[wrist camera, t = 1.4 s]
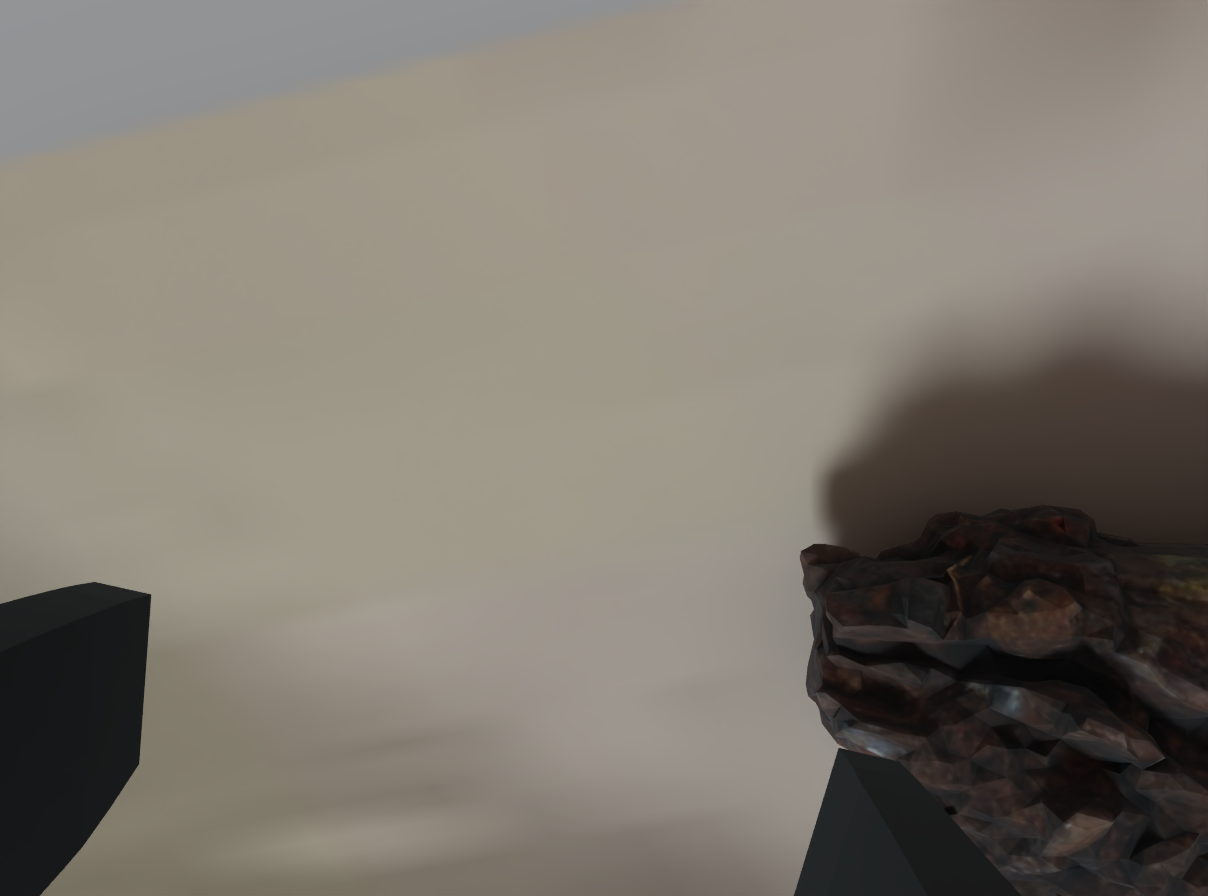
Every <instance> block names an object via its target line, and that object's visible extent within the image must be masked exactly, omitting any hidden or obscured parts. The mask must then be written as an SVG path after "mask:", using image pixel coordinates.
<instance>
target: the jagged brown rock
mask: <svg viewBox="0 0 1208 896" xmlns="http://www.w3.org/2000/svg"><path fill="white" fill-rule="evenodd" d="M800 560H801V564H802V568H803V572H804V579H803V585H804V588H805V591H806V594H807V596H808V597H809V598H810V599H811V600H812V604H813V607H814V610H813V612H812V613H811V615H810V617H811V623H812V630H813V636H814V642H813V646H812V650H811V655H810V659H809V663H808V668H807V679H806V687H807V692H808V696H809V697H810V698H811V699H812V700H813V701H815V702H816V704H817V706H818V708H819V710H820V716H821V721H822V724H823V725H824V727H825V728H826V729H827V731H828V732H829V733H830V734H831V736H832V737H833V738H834V740H835V741H836V742H837V744H839V745H841V746H843V747H844V748H846V749H848V750H851V751H855V752H859V753H864V754H868V755H873V756H877V757H882V758H886V759H891V760H895V761H899V762H900V763H901V764H902V765H903V766H904V767H905V768H906V769H907V770H908V771H909V772H910V773H911V774H912V775H913V776H914V777H915V778H916V779H917V780H918V781H919V782H920V783H921V784H922V785H923V786H924V788H925V789H926V790H927V791H928V792H929V793H930V794H931V795H932V796H933V798H934V799H935V800H936V801H937V802H938V803H939V804H940V805H941V806H942V808H943V809H944V810H945V811H946V812H947V813H948V814H949V815H950V817H951V818H952V819H953V820H954V821H955V822H956V823H957V825H958V826H959V827H960V828H961V829H962V830H963V831H964V832H965V834H966V835H967V836H968V837H969V838H970V839H971V840H972V841H973V843H974V844H975V845H976V846H977V847H978V848H979V849H980V850H981V852H982V853H983V854H984V855H985V856H986V857H987V858H988V859H989V860H990V862H991V863H992V864H993V865H994V866H995V867H996V868H997V869H998V870H999V872H1000V873H1001V874H1002V875H1003V876H1004V877H1005V878H1006V879H1007V880H1008V881H1009V882H1010V884H1011V885H1012V886H1013V887H1014V888H1015V889H1016V890H1017V891H1018V892H1019V893H1020V894H1021V895H1022V896H1208V544H1160V543H1136V542H1134V541H1133V540H1131V539H1126V538H1121V537H1117V536H1112V535H1107V534H1102V533H1097V531H1096V527H1095V523H1094V519H1092V518H1091V517H1089V516H1088V515H1086V514H1085V513H1083V512H1082V511H1081V510H1077V509H1069V508H1061V507H1052V506H1044V505H1042V506H1036V507H1031V508H1025V509H1019V510H1014V511H1010V510H1006V509H999V510H997V511H994V512H992V513H989V514H987V515H985V516H982V517H980V516H976V515H971V514H966V513H961V512H950V513H943V514H937V515H935V516H934V517H933V518H931V519H930V520H929V522H928V524H927V525H926V527H925V529H924V531H923V533H922V535H921V537H920V538H919V539H918V540H917V541H916V542H913V543H910V544H906V545H902V546H899V547H896V548H893V549H889V550H886V551H883V552H881V553H880V555H879V556H878V557H877V559H873V558H869V557H865V556H863V557H860V555H859V554H858V553H855V552H853V551H851V550H849V549H845V548H842V547H839V546H833V545H827V544H813V545H811V546H810V547H808V548H806V549H804V550H802V551H801V555H800Z"/></svg>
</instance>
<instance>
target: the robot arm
mask: <svg viewBox="0 0 1208 896" xmlns="http://www.w3.org/2000/svg"><path fill="white" fill-rule="evenodd" d="M150 604H151V594H146V593H142V592H137V591H133V590H128V589H124V588H119V587H115V586H110V585H106V584H101V583H97V582H92V583H86V584H80V585H74V586H69V587H64V588H60V589H56V590H52V591H48V592H43V593H40V594H36V595H32V596H28V597H24V598H21V599H17V600H13V601H10V602H6V603H2V604H0V896H40V895H41V894H42V892H43V891H44V890H45V889H46V888H47V887H48V886H49V885H50V883H51V882H52V881H53V880H54V879H55V878H56V877H57V876H58V874H59V873H60V872H61V871H62V870H63V869H64V868H65V866H66V865H67V864H68V863H69V862H70V861H71V860H72V858H73V857H74V856H75V855H76V854H77V853H78V851H79V850H80V849H81V848H82V847H83V845H84V844H85V843H86V841H87V840H88V838H89V837H90V836H91V834H92V833H93V831H94V830H95V828H96V827H97V826H98V824H99V823H100V821H101V820H102V819H103V817H104V816H105V814H106V813H107V812H108V810H109V809H110V807H111V806H112V804H113V803H114V801H115V800H116V798H117V797H118V795H119V794H120V792H121V791H122V789H123V788H124V786H125V785H126V783H127V782H128V780H129V779H130V777H131V775H132V774H133V772H134V771H135V769H136V768H137V766H138V765H139V757H140V743H141V729H142V715H143V701H144V687H145V673H146V660H147V646H148V632H149V618H150ZM794 896H1022V895H1021V894H1020V893H1019V892H1018V891H1017V890H1016V889H1015V888H1014V887H1013V886H1012V885H1011V884H1010V882H1009V881H1008V880H1007V879H1006V878H1005V877H1004V876H1003V875H1002V874H1001V873H1000V872H999V870H998V869H997V868H996V867H995V866H994V865H993V864H992V863H991V862H990V860H989V859H988V858H987V857H986V856H985V855H984V854H983V853H982V852H981V850H980V849H979V848H978V847H977V846H976V845H975V844H974V843H973V841H972V840H971V839H970V838H969V837H968V836H967V835H966V834H965V832H964V831H963V830H962V829H961V828H960V827H959V826H958V825H957V823H956V822H955V821H954V820H953V819H952V818H951V817H950V815H949V814H948V813H947V812H946V811H945V810H944V809H943V808H942V806H941V805H940V804H939V803H938V802H937V801H936V800H935V799H934V798H933V796H932V795H931V794H930V793H929V792H928V791H927V790H926V789H925V788H924V786H923V785H922V784H921V783H920V782H919V781H918V780H917V779H916V778H915V777H914V776H913V775H912V774H911V773H910V772H909V771H908V770H907V769H906V768H905V767H904V766H903V765H902V764H901V763H900V762H899V761H895V760H891V759H886V758H882V757H877V756H873V755H868V754H864V753H859V752H855V751H851V750H846V749H842V748H839V749H838V752H837V755H836V759H835V762H834V765H833V769H832V772H831V775H830V779H829V782H828V785H827V788H826V792H825V795H824V798H823V802H822V805H821V808H820V812H819V815H818V818H817V821H816V825H815V828H814V831H813V835H812V838H811V841H810V845H809V848H808V851H807V855H806V858H805V861H804V864H803V868H802V871H801V874H800V878H799V881H798V884H797V888H796V891H795V894H794Z"/></svg>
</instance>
